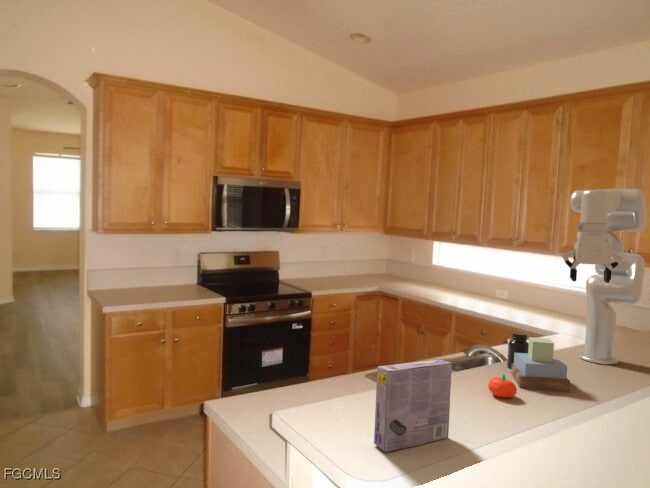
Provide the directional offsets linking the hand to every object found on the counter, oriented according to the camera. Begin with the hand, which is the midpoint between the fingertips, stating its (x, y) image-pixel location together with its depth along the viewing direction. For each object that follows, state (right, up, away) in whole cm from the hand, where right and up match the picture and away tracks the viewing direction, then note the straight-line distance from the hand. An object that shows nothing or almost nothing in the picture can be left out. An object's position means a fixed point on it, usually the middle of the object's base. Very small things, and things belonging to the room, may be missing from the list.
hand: (589, 281), depth 157 cm
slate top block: (-19, -28, -5) cm, 34 cm away
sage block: (-18, -24, -5) cm, 31 cm away
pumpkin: (-35, -32, -18) cm, 51 cm away
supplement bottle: (-19, -31, +10) cm, 38 cm away
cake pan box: (-66, -33, -48) cm, 88 cm away
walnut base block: (-19, -32, -5) cm, 37 cm away
